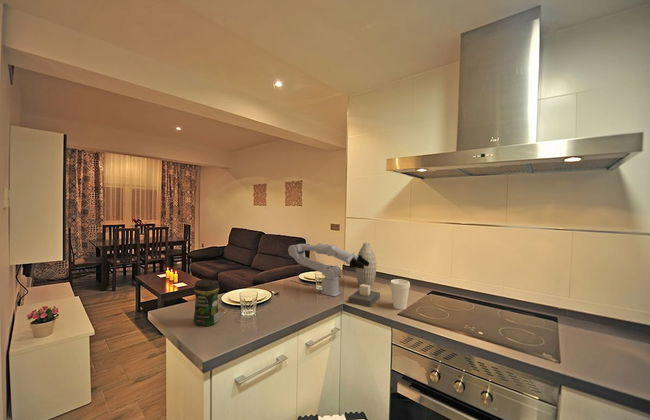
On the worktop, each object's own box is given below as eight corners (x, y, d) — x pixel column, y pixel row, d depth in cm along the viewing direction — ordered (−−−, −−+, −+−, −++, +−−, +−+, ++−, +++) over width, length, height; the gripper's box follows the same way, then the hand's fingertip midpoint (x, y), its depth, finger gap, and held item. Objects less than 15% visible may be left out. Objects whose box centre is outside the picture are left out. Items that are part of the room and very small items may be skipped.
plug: (359, 300, 146) (359, 285, 145) (361, 298, 149) (362, 284, 148) (367, 301, 143) (368, 287, 143) (370, 300, 146) (370, 285, 146)
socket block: (348, 302, 142) (348, 296, 142) (360, 294, 156) (360, 289, 156) (370, 306, 136) (370, 301, 136) (380, 297, 150) (380, 292, 150)
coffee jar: (190, 325, 112) (190, 281, 112) (203, 317, 120) (203, 276, 120) (209, 328, 110) (210, 283, 110) (221, 320, 118) (222, 278, 117)
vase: (352, 285, 173) (353, 241, 173) (370, 283, 177) (370, 241, 177) (360, 291, 161) (361, 244, 161) (379, 289, 165) (380, 244, 164)
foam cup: (402, 312, 130) (402, 285, 130) (386, 306, 137) (386, 281, 137) (412, 307, 136) (413, 282, 136) (397, 302, 143) (398, 278, 143)
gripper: (341, 251, 145) (363, 261, 138) (351, 248, 157) (372, 256, 151) (337, 263, 146) (359, 273, 140) (348, 259, 159) (369, 268, 152)
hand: (366, 265), depth 145 cm, fingers open, 7 cm apart
